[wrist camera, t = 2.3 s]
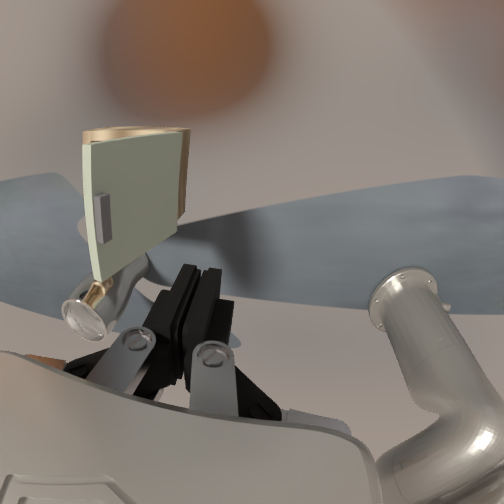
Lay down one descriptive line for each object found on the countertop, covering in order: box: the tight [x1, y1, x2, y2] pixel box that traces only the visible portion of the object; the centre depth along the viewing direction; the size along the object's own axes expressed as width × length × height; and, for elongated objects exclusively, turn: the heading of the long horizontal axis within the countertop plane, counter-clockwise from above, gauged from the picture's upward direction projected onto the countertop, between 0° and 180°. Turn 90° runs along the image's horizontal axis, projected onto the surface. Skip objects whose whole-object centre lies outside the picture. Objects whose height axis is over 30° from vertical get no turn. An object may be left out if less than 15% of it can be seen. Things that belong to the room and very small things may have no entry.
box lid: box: [83, 132, 183, 283], centre depth 23 cm, size 12×11×2 cm
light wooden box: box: [83, 127, 191, 220], centre depth 32 cm, size 12×11×6 cm
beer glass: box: [62, 253, 149, 343], centre depth 34 cm, size 7×7×15 cm
